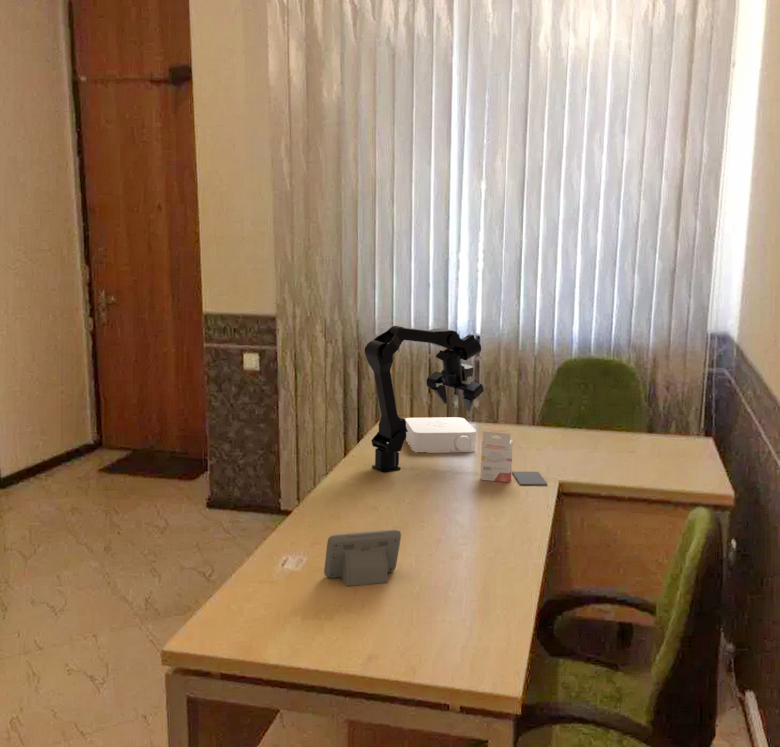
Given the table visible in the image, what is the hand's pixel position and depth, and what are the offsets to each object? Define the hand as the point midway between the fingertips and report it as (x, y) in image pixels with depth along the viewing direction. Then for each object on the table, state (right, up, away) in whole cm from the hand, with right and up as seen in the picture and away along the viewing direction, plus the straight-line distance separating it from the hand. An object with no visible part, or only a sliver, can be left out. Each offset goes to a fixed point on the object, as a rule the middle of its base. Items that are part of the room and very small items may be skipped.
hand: (457, 407), depth 284 cm
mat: (+20, -20, -24) cm, 37 cm away
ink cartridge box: (+10, -21, -25) cm, 33 cm away
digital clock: (-28, -33, -96) cm, 105 cm away
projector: (-5, -13, +13) cm, 19 cm away
